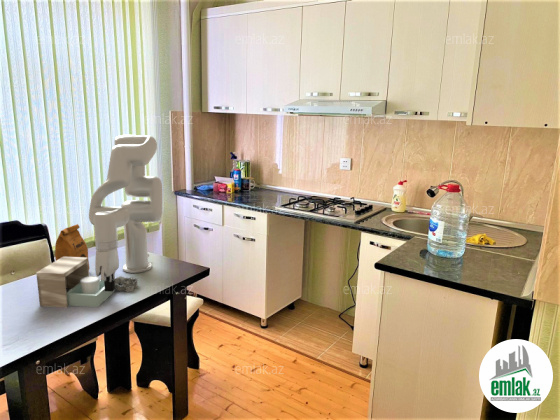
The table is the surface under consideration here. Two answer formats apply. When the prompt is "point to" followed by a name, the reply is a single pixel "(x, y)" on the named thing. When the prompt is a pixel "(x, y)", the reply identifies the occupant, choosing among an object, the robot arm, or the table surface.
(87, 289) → the shot glass
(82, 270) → the beige wooden block
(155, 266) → the table surface
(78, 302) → the tray
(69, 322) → the table surface
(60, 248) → the coffee package
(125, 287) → the egg carton
